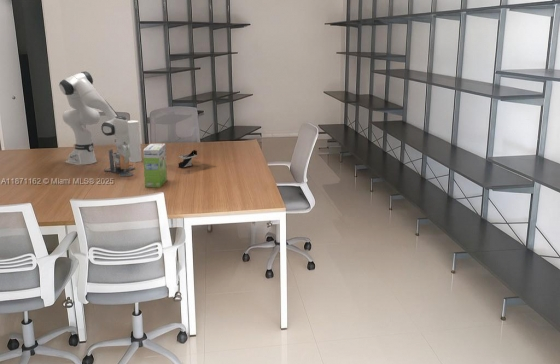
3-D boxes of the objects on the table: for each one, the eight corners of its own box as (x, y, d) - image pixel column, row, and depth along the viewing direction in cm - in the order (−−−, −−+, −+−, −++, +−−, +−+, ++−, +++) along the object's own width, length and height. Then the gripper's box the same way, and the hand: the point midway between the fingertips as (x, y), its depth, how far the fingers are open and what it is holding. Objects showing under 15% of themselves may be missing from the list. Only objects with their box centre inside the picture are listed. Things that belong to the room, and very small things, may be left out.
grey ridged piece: (104, 171, 364) (102, 151, 360) (118, 166, 377) (116, 147, 373) (121, 174, 358) (120, 153, 354) (135, 169, 371) (133, 149, 367)
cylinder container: (138, 162, 388) (134, 122, 380) (126, 162, 390) (122, 121, 381) (143, 159, 397) (140, 119, 388) (132, 159, 399) (128, 119, 390)
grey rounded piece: (116, 176, 354) (116, 175, 353) (125, 172, 361) (125, 171, 361) (127, 177, 350) (126, 176, 350) (135, 174, 358) (135, 173, 358)
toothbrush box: (161, 187, 328) (158, 149, 321) (144, 187, 328) (141, 149, 321) (168, 179, 345) (165, 143, 338) (152, 179, 345) (149, 143, 338)
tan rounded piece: (115, 169, 351) (114, 156, 348) (117, 167, 356) (116, 154, 354) (132, 169, 352) (131, 155, 349) (134, 167, 357) (133, 153, 355)
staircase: (178, 168, 375) (177, 151, 371) (190, 165, 382) (189, 148, 378) (186, 170, 369) (185, 153, 365) (197, 167, 376) (197, 150, 372)
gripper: (131, 143, 342) (133, 164, 346) (123, 137, 359) (125, 157, 363) (122, 144, 339) (123, 165, 343) (114, 138, 356) (115, 159, 359)
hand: (124, 161), depth 353 cm, fingers closed on tan rounded piece, 6 cm apart
